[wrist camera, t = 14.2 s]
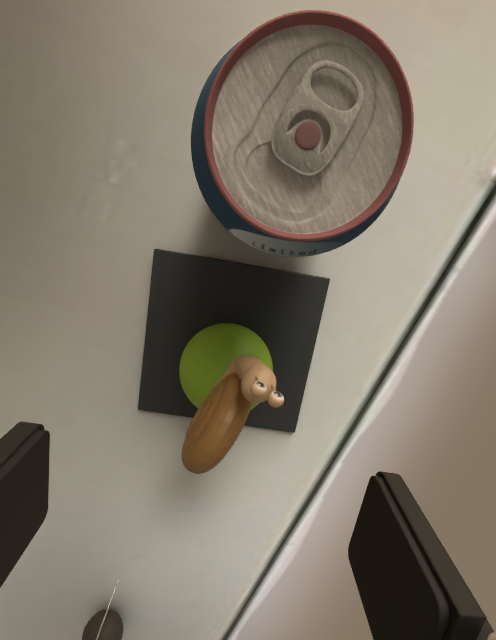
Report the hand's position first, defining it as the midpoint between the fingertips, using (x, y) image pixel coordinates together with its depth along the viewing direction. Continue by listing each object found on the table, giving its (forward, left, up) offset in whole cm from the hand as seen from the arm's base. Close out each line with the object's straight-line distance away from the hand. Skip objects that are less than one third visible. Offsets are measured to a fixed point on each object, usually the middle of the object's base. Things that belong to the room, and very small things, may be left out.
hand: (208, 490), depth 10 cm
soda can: (-10, +1, -14) cm, 17 cm away
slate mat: (0, 0, -14) cm, 14 cm away
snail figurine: (0, 0, -14) cm, 14 cm away
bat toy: (+25, -6, -14) cm, 30 cm away
